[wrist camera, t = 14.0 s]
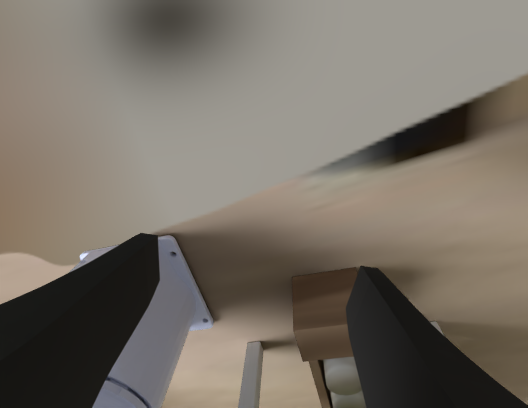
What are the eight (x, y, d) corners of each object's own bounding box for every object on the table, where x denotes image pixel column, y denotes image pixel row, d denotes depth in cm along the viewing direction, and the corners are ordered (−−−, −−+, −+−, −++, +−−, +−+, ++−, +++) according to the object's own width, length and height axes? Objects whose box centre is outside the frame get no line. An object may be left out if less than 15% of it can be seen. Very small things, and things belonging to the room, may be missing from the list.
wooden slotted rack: (290, 276, 22) (291, 331, 18) (356, 266, 21) (374, 320, 17) (326, 403, 29) (333, 464, 25) (376, 399, 29) (393, 462, 24)
